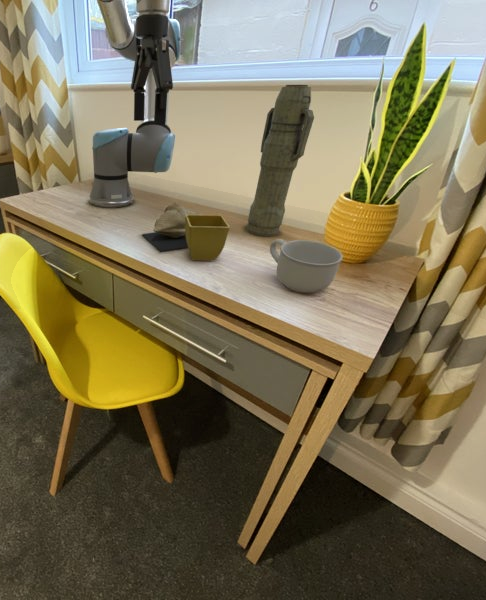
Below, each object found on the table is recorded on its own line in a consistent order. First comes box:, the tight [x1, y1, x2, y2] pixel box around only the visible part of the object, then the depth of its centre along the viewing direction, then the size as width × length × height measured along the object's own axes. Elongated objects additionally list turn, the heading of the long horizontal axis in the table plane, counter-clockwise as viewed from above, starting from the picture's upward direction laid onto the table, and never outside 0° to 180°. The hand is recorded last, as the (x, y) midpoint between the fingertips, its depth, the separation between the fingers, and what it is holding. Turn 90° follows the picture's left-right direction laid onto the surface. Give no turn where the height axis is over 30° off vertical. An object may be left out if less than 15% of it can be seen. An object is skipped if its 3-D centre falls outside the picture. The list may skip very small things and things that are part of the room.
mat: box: [141, 232, 189, 253], centre depth 88 cm, size 12×16×1 cm
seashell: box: [152, 202, 201, 238], centre depth 88 cm, size 14×9×10 cm
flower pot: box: [185, 214, 231, 262], centre depth 77 cm, size 9×9×9 cm
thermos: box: [246, 84, 315, 237], centre depth 85 cm, size 9×12×35 cm
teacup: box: [269, 238, 344, 294], centre depth 66 cm, size 14×11×8 cm
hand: (148, 122), depth 86 cm, fingers open, 13 cm apart
